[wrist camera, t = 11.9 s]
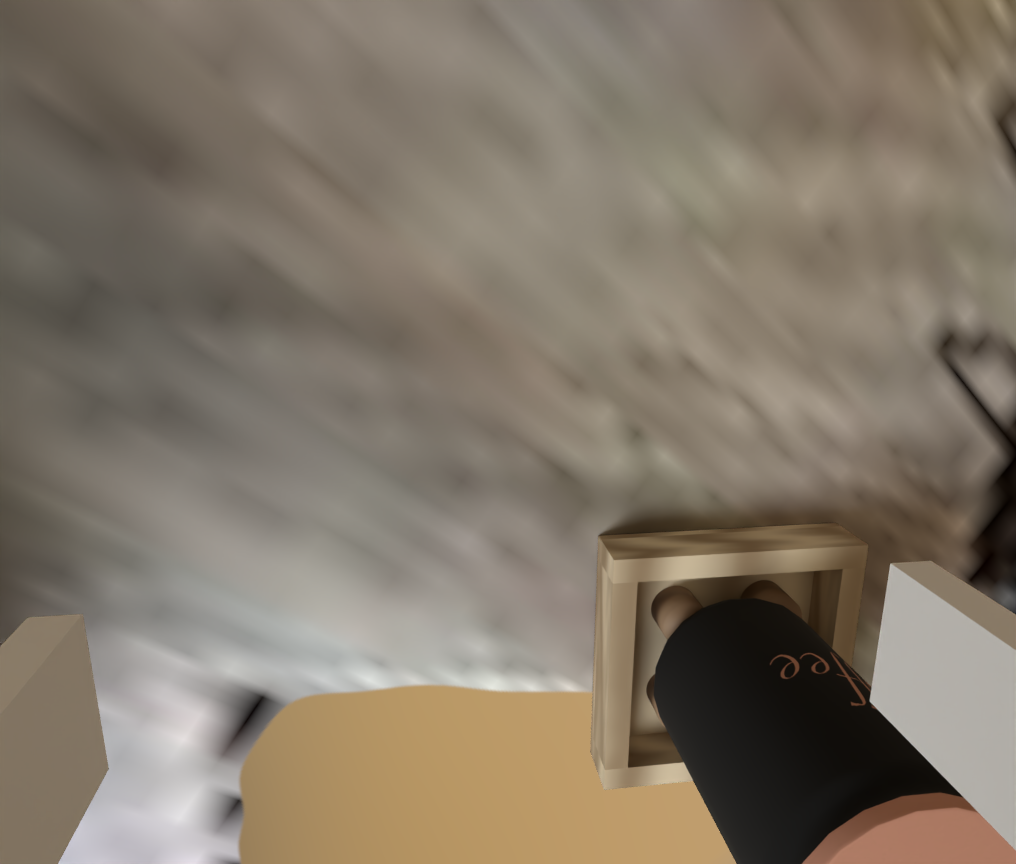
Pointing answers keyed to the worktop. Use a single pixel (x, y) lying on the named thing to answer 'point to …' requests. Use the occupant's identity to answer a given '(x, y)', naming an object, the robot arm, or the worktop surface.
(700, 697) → the coffee jar
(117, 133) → the worktop surface
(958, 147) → the worktop surface
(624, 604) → the peg frame
